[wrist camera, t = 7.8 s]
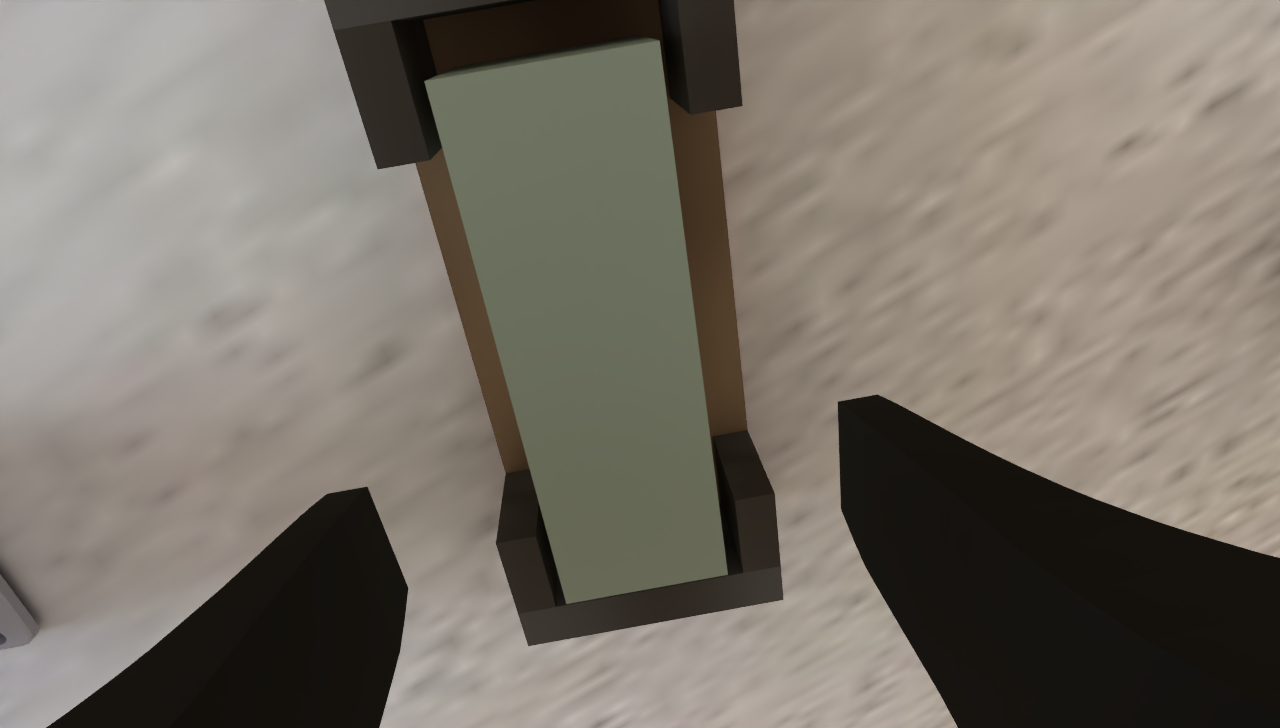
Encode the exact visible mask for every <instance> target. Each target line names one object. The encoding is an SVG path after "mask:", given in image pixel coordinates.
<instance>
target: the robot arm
mask: <svg viewBox="0 0 1280 728" xmlns="http://www.w3.org/2000/svg"><path fill="white" fill-rule="evenodd" d="M838 423H839V455H840V487H841V510H842V512H843V515H844V517H845V520H846V522H847V525H848V527H849V530H850V532H851V534H852V537H853V539H854V542H855V544H856V546H857V549H858V551H859V553H860V555H861V558H862V560H863V562H864V565H865V567H866V568H867V570H868V572H869V574H870V575H871V577H872V579H873V581H874V582H875V584H876V586H877V588H878V589H879V591H880V593H881V594H882V596H883V598H884V600H885V601H886V603H887V605H888V606H889V608H890V610H891V612H892V613H893V615H894V617H895V618H896V620H897V622H898V623H899V625H900V627H901V629H902V630H903V632H904V634H905V635H906V637H907V639H908V640H909V642H910V644H911V645H912V647H913V649H914V651H915V652H916V654H917V656H918V657H919V659H920V661H921V662H922V664H923V666H924V668H925V669H926V671H927V673H928V674H929V676H930V678H931V679H932V681H933V683H934V684H935V686H936V688H937V690H938V691H939V693H940V695H941V697H942V698H943V700H944V702H945V704H946V706H947V708H948V710H949V712H950V713H951V715H952V717H953V719H954V721H955V723H956V725H957V727H958V728H1280V558H1277V557H1273V556H1270V555H1266V554H1262V553H1258V552H1255V551H1251V550H1248V549H1244V548H1241V547H1238V546H1234V545H1231V544H1227V543H1224V542H1221V541H1217V540H1214V539H1211V538H1207V537H1204V536H1200V535H1197V534H1194V533H1190V532H1187V531H1184V530H1181V529H1178V528H1175V527H1172V526H1169V525H1166V524H1163V523H1160V522H1156V521H1154V520H1151V519H1148V518H1145V517H1142V516H1140V515H1137V514H1134V513H1131V512H1129V511H1126V510H1123V509H1121V508H1118V507H1115V506H1112V505H1110V504H1107V503H1104V502H1102V501H1099V500H1096V499H1093V498H1091V497H1088V496H1086V495H1083V494H1081V493H1079V492H1076V491H1074V490H1071V489H1069V488H1066V487H1064V486H1062V485H1059V484H1057V483H1055V482H1053V481H1050V480H1048V479H1046V478H1044V477H1041V476H1039V475H1037V474H1035V473H1032V472H1030V471H1028V470H1026V469H1023V468H1021V467H1019V466H1017V465H1015V464H1013V463H1011V462H1009V461H1006V460H1004V459H1002V458H1000V457H998V456H996V455H994V454H992V453H990V452H988V451H986V450H984V449H982V448H980V447H978V446H976V445H974V444H972V443H970V442H968V441H966V440H964V439H962V438H960V437H959V436H957V435H955V434H953V433H951V432H949V431H947V430H945V429H943V428H941V427H940V426H938V425H936V424H934V423H932V422H930V421H928V420H926V419H925V418H923V417H921V416H919V415H917V414H915V413H913V412H911V411H909V410H908V409H906V408H904V407H902V406H900V405H898V404H896V403H894V402H892V401H890V400H888V399H886V398H884V397H882V396H879V395H873V396H867V397H862V398H856V399H851V400H845V401H840V402H838ZM407 594H408V586H407V584H406V581H405V579H404V576H403V574H402V572H401V569H400V567H399V564H398V562H397V559H396V557H395V554H394V552H393V549H392V547H391V544H390V542H389V539H388V537H387V534H386V532H385V529H384V527H383V524H382V522H381V519H380V517H379V514H378V512H377V510H376V507H375V505H374V502H373V500H372V497H371V495H370V492H369V490H368V487H363V488H358V489H352V490H346V491H341V492H335V493H330V494H327V495H325V496H324V497H323V498H321V499H320V500H319V501H318V502H316V503H315V504H314V505H313V506H311V507H310V508H309V509H308V510H307V511H306V512H305V513H303V514H302V515H301V516H300V517H299V518H298V519H297V520H296V521H294V522H293V523H292V524H291V525H290V526H289V527H288V528H287V529H286V530H285V531H284V532H282V533H281V534H280V535H279V536H278V537H277V538H276V539H275V540H274V541H273V542H272V543H271V544H269V545H268V546H267V547H266V548H265V549H264V550H263V551H262V552H261V553H260V554H259V555H257V556H256V557H255V558H254V559H253V560H252V561H251V562H250V563H249V564H248V565H247V566H245V567H244V568H243V569H242V570H241V571H240V572H239V573H238V574H237V575H236V576H235V577H233V578H232V579H231V580H230V581H229V582H228V583H227V584H226V585H225V586H224V587H222V588H221V589H220V590H219V591H218V592H217V593H216V594H215V595H213V596H212V597H211V598H210V599H209V600H208V601H206V602H205V603H204V604H203V605H202V606H201V607H199V608H198V609H197V610H196V611H195V612H194V613H192V614H191V615H190V616H189V617H188V618H187V619H185V620H184V621H183V622H182V623H181V624H180V625H178V626H177V627H176V628H175V629H174V630H173V631H171V632H170V633H169V634H168V635H167V636H165V637H164V638H163V639H162V640H161V641H160V642H158V643H157V644H156V645H155V646H154V647H153V648H151V649H150V650H149V651H148V652H146V653H145V654H144V655H143V656H141V657H140V658H139V659H138V660H136V661H135V662H134V663H133V664H131V665H130V666H129V667H128V668H126V669H125V670H124V671H122V672H121V673H120V674H119V675H117V676H116V677H115V678H113V679H112V680H111V681H109V682H108V683H107V684H105V685H104V686H103V687H101V688H100V689H99V690H97V691H96V692H95V693H93V694H92V695H91V696H89V697H88V698H87V699H85V700H84V701H83V702H81V703H80V704H79V705H77V706H76V707H74V708H73V709H72V710H70V711H69V712H68V713H66V714H65V715H64V716H62V717H61V718H59V719H58V720H56V721H55V722H54V723H52V724H51V725H49V726H48V727H46V728H379V727H380V723H381V719H382V716H383V712H384V709H385V705H386V701H387V698H388V694H389V690H390V687H391V683H392V679H393V676H394V672H395V668H396V664H397V660H398V656H399V653H400V647H401V640H402V634H403V627H404V620H405V611H406V603H407ZM38 632H39V627H38V625H37V623H36V621H35V620H34V619H33V617H32V616H31V615H30V613H29V612H28V611H27V609H26V608H25V607H24V605H23V604H22V603H21V601H20V600H19V599H18V597H17V596H16V595H15V593H14V592H13V591H12V589H11V588H10V586H9V585H8V584H7V582H6V581H5V580H4V578H3V577H2V576H1V574H0V650H1V649H7V648H13V647H18V646H23V645H26V644H29V643H30V642H31V641H32V639H33V638H34V637H35V636H36V635H37V634H38Z"/></svg>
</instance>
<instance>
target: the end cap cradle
mask: <svg viewBox="0 0 1280 728" xmlns="http://www.w3.org/2000/svg"><path fill="white" fill-rule="evenodd" d="M324 1H325V5H326V8H327V11H328V14H329V17H330V20H331V23H332V27H333V30H334V33H335V36H336V39H337V42H338V46H339V49H340V52H341V55H342V58H343V61H344V65H345V68H346V71H347V74H348V77H349V80H350V84H351V87H352V90H353V93H354V96H355V99H356V103H357V106H358V109H359V112H360V115H361V118H362V121H363V125H364V128H365V131H366V134H367V137H368V140H369V144H370V147H371V150H372V153H373V156H374V159H375V163H376V166H377V169H382V168H388V167H394V166H400V165H405V164H411V163H416V167H417V170H418V173H419V177H420V180H421V184H422V187H423V191H424V194H425V197H426V201H427V204H428V208H429V211H430V215H431V218H432V221H433V225H434V228H435V232H436V235H437V239H438V242H439V245H440V249H441V252H442V256H443V259H444V263H445V266H446V270H447V273H448V276H449V280H450V283H451V287H452V290H453V294H454V297H455V300H456V304H457V307H458V311H459V314H460V318H461V321H462V324H463V328H464V331H465V335H466V338H467V342H468V345H469V348H470V352H471V355H472V359H473V362H474V366H475V369H476V373H477V376H478V379H479V383H480V386H481V390H482V393H483V397H484V400H485V403H486V407H487V410H488V414H489V417H490V421H491V424H492V427H493V431H494V434H495V438H496V441H497V445H498V448H499V451H500V455H501V458H502V462H503V465H504V469H505V472H506V476H505V483H504V490H503V498H502V505H501V512H500V519H499V526H498V533H497V540H496V545H497V548H498V551H499V555H500V558H501V561H502V564H503V567H504V570H505V574H506V577H507V580H508V583H509V586H510V589H511V593H512V596H513V599H514V602H515V605H516V608H517V612H518V615H519V618H520V621H521V624H522V627H523V630H524V634H525V637H526V640H527V643H528V646H531V645H537V644H542V643H548V642H553V641H559V640H564V639H570V638H575V637H581V636H586V635H592V634H597V633H603V632H608V631H614V630H619V629H625V628H630V627H636V626H641V625H647V624H652V623H658V622H663V621H669V620H674V619H680V618H685V617H691V616H696V615H702V614H707V613H713V612H718V611H724V610H729V609H735V608H740V607H746V606H751V605H757V604H762V603H768V602H773V601H779V600H783V589H782V577H781V565H780V553H779V541H778V529H777V517H776V505H775V493H774V491H773V489H772V486H771V484H770V482H769V479H768V477H767V475H766V472H765V470H764V468H763V465H762V463H761V461H760V458H759V456H758V454H757V451H756V449H755V447H754V444H753V442H752V440H751V437H750V435H749V433H748V430H747V421H746V411H745V401H744V391H743V381H742V371H741V360H740V350H739V340H738V330H737V320H736V310H735V300H734V290H733V280H732V270H731V260H730V250H729V240H728V230H727V220H726V210H725V200H724V190H723V180H722V170H721V160H720V149H719V139H718V129H717V119H716V110H722V109H727V108H733V107H739V106H742V95H741V83H740V71H739V59H738V47H737V35H736V23H735V11H734V0H324ZM636 35H641V36H644V37H648V38H652V39H656V40H659V41H660V48H661V56H662V64H663V72H664V79H665V87H666V95H667V103H668V111H669V118H670V126H671V134H672V142H673V150H674V157H675V165H676V173H677V181H678V189H679V196H680V204H681V212H682V220H683V228H684V235H685V243H686V251H687V259H688V267H689V274H690V282H691V290H692V298H693V306H694V313H695V321H696V329H697V337H698V345H699V352H700V360H701V368H702V376H703V384H704V391H705V399H706V407H707V415H708V423H709V430H710V438H711V446H712V454H713V462H714V469H715V477H716V485H717V493H718V501H719V508H720V516H721V524H722V532H723V540H724V547H725V555H726V563H727V571H728V575H724V576H718V577H713V578H707V579H702V580H696V581H691V582H685V583H680V584H674V585H669V586H663V587H658V588H652V589H647V590H641V591H636V592H630V593H625V594H619V595H614V596H608V597H603V598H597V599H592V600H586V601H581V602H575V603H570V604H566V601H565V597H564V593H563V590H562V586H561V582H560V579H559V575H558V571H557V568H556V564H555V560H554V557H553V553H552V549H551V546H550V542H549V538H548V535H547V531H546V527H545V524H544V520H543V516H542V513H541V509H540V505H539V502H538V498H537V494H536V490H535V487H534V483H533V479H532V476H531V472H530V468H529V465H528V461H527V457H526V454H525V450H524V446H523V443H522V439H521V435H520V432H519V428H518V424H517V421H516V417H515V413H514V410H513V406H512V402H511V398H510V395H509V391H508V387H507V384H506V380H505V376H504V373H503V369H502V365H501V362H500V358H499V354H498V351H497V347H496V343H495V340H494V336H493V332H492V329H491V325H490V321H489V318H488V314H487V310H486V307H485V303H484V299H483V295H482V292H481V288H480V284H479V281H478V277H477V273H476V270H475V266H474V262H473V259H472V255H471V251H470V248H469V244H468V240H467V237H466V233H465V229H464V226H463V222H462V218H461V215H460V211H459V207H458V204H457V200H456V196H455V192H454V189H453V185H452V181H451V178H450V174H449V170H448V167H447V163H446V159H445V156H444V152H443V148H442V145H441V141H440V137H439V134H438V130H437V126H436V123H435V119H434V115H433V112H432V108H431V104H430V101H429V97H428V93H427V89H426V86H425V82H424V81H426V80H428V79H430V78H433V77H435V76H437V75H439V74H442V73H444V72H446V71H448V70H451V69H453V68H455V67H457V66H462V65H468V64H474V63H479V62H485V61H491V60H497V59H503V58H508V57H514V56H520V55H526V54H532V53H537V52H543V51H549V50H555V49H561V48H566V47H572V46H578V45H584V44H590V43H595V42H601V41H607V40H613V39H619V38H624V37H630V36H636Z"/></svg>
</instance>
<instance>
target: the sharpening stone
mask: <svg viewBox="0 0 1280 728" xmlns="http://www.w3.org/2000/svg"><path fill="white" fill-rule="evenodd" d="M424 82H425V86H426V89H427V93H428V97H429V101H430V104H431V108H432V112H433V115H434V119H435V123H436V126H437V130H438V134H439V137H440V141H441V145H442V148H443V152H444V156H445V159H446V163H447V167H448V170H449V174H450V178H451V181H452V185H453V189H454V192H455V196H456V200H457V204H458V207H459V211H460V215H461V218H462V222H463V226H464V229H465V233H466V237H467V240H468V244H469V248H470V251H471V255H472V259H473V262H474V266H475V270H476V273H477V277H478V281H479V284H480V288H481V292H482V295H483V299H484V303H485V307H486V310H487V314H488V318H489V321H490V325H491V329H492V332H493V336H494V340H495V343H496V347H497V351H498V354H499V358H500V362H501V365H502V369H503V373H504V376H505V380H506V384H507V387H508V391H509V395H510V398H511V402H512V406H513V410H514V413H515V417H516V421H517V424H518V428H519V432H520V435H521V439H522V443H523V446H524V450H525V454H526V457H527V461H528V465H529V468H530V472H531V476H532V479H533V483H534V487H535V490H536V494H537V498H538V502H539V505H540V509H541V513H542V516H543V520H544V524H545V527H546V531H547V535H548V538H549V542H550V546H551V549H552V553H553V557H554V560H555V564H556V568H557V571H558V575H559V579H560V582H561V586H562V590H563V593H564V597H565V601H566V604H570V603H575V602H581V601H586V600H592V599H597V598H603V597H608V596H614V595H619V594H625V593H630V592H636V591H641V590H647V589H652V588H658V587H663V586H669V585H674V584H680V583H685V582H691V581H696V580H702V579H707V578H713V577H718V576H724V575H728V571H727V563H726V555H725V547H724V540H723V532H722V524H721V516H720V508H719V501H718V493H717V485H716V477H715V469H714V462H713V454H712V446H711V438H710V430H709V423H708V415H707V407H706V399H705V391H704V384H703V376H702V368H701V360H700V352H699V345H698V337H697V329H696V321H695V313H694V306H693V298H692V290H691V282H690V274H689V267H688V259H687V251H686V243H685V235H684V228H683V220H682V212H681V204H680V196H679V189H678V181H677V173H676V165H675V157H674V150H673V142H672V134H671V126H670V118H669V111H668V103H667V95H666V87H665V79H664V72H663V64H662V56H661V48H660V41H659V40H656V39H652V38H648V37H644V36H641V35H636V36H630V37H624V38H619V39H613V40H607V41H601V42H595V43H590V44H584V45H578V46H572V47H566V48H561V49H555V50H549V51H543V52H537V53H532V54H526V55H520V56H514V57H508V58H503V59H497V60H491V61H485V62H479V63H474V64H468V65H462V66H457V67H455V68H453V69H451V70H448V71H446V72H444V73H442V74H439V75H437V76H435V77H433V78H430V79H428V80H426V81H424Z"/></svg>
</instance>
